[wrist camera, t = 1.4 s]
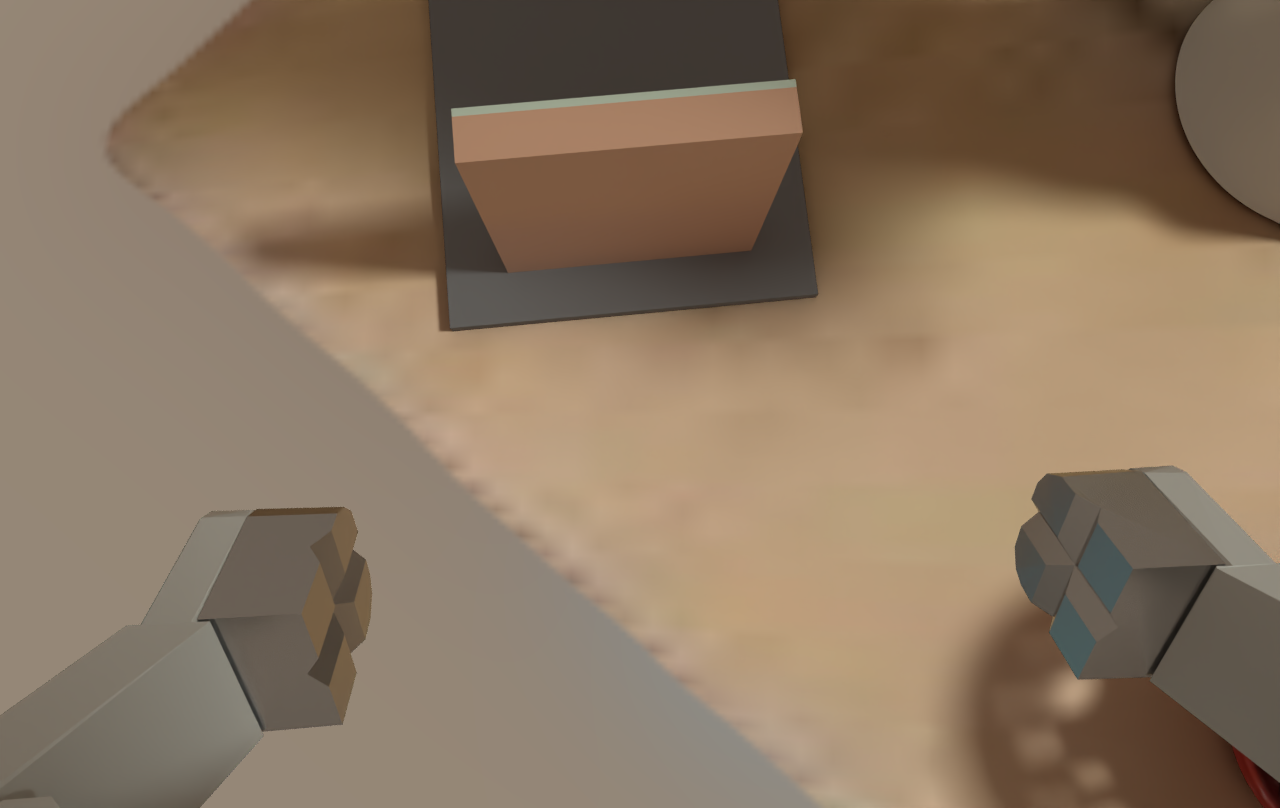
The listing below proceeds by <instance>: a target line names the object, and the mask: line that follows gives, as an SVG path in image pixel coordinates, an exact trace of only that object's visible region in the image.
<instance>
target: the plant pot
mask: <svg viewBox="0 0 1280 808" xmlns="http://www.w3.org/2000/svg"><path fill="white" fill-rule="evenodd" d="M1232 748H1233V751H1234V755H1235V757H1236V760H1237V762H1238V765H1239V767H1240V769H1241V772H1242V774H1243V776H1244V778H1245V780H1246V782H1247V783H1248V785H1249V786H1250V788H1251V790H1252V791H1253V793H1254V795H1255V796H1256V798H1257V799H1258V800H1259V802H1260V803H1261V805H1262V806H1263V807H1264V808H1280V782H1278V781H1277V780H1276V779H1275V778H1273V777H1272V776H1271V775H1269V774H1268V773H1267V772H1266V771H1264V770H1263V769H1262V768H1260V767H1259V766H1258V765H1257V764H1255V763H1254V762H1253V761H1252V760H1250V759H1249V758H1248V757H1246V756H1245V755H1244V754H1243V753H1241V752H1240V751H1239V750H1237V749H1236V748H1235V747H1234V746H1232Z"/></svg>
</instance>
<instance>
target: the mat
mask: <svg viewBox="0 0 1280 808" xmlns="http://www.w3.org/2000/svg"><path fill="white" fill-rule="evenodd" d="M429 15H430V30H431V46H432V61H433V76H434V91H435V107H436V122H437V137H438V153H439V168H440V183H441V198H442V214H443V229H444V244H445V259H446V275H447V290H448V305H449V321H450V329H451V330H452V331H460V330H471V329H482V328H492V327H503V326H514V325H524V324H535V323H546V322H557V321H567V320H578V319H589V318H599V317H610V316H621V315H632V314H642V313H653V312H664V311H674V310H685V309H696V308H707V307H717V306H728V305H739V304H749V303H760V302H771V301H781V300H792V299H803V298H814V297H816V296H817V295H818V290H817V283H816V275H815V268H814V261H813V253H812V246H811V239H810V231H809V224H808V217H807V209H806V202H805V195H804V187H803V180H802V173H801V165H800V158H799V151H798V145H797V147H796V150H795V152H794V154H793V157H792V159H791V161H790V163H789V166H788V168H787V170H786V173H785V175H784V177H783V179H782V182H781V184H780V186H779V188H778V191H777V193H776V195H775V198H774V200H773V202H772V204H771V207H770V209H769V211H768V214H767V216H766V218H765V220H764V223H763V225H762V227H761V230H760V232H759V234H758V236H757V239H756V241H755V243H754V245H753V248H752V250H751V251H742V252H731V253H720V254H709V255H699V256H688V257H677V258H666V259H655V260H644V261H633V262H622V263H611V264H600V265H589V266H578V267H568V268H557V269H546V270H535V271H524V272H513V273H508V272H507V270H506V268H505V265H504V263H503V261H502V259H501V257H500V255H499V253H498V251H497V249H496V247H495V245H494V243H493V241H492V239H491V237H490V235H489V232H488V230H487V228H486V226H485V224H484V222H483V220H482V218H481V216H480V214H479V212H478V210H477V208H476V206H475V204H474V202H473V199H472V197H471V195H470V193H469V191H468V189H467V187H466V185H465V183H464V181H463V179H462V177H461V175H460V173H459V171H458V169H457V166H456V164H455V157H454V143H453V128H452V114H451V109H454V108H465V107H477V106H488V105H500V104H512V103H523V102H535V101H547V100H558V99H570V98H581V97H593V96H605V95H616V94H628V93H639V92H651V91H663V90H674V89H686V88H698V87H709V86H721V85H732V84H744V83H756V82H767V81H779V80H789V78H788V70H787V63H786V56H785V48H784V41H783V34H782V26H781V19H780V12H779V5H778V0H429Z"/></svg>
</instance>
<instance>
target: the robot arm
mask: <svg viewBox="0 0 1280 808" xmlns="http://www.w3.org/2000/svg"><path fill="white" fill-rule="evenodd" d="M1175 93H1176V102H1177V108H1178V112H1179V116H1180V120H1181V123H1182V126H1183V129H1184V131H1185V134H1186V136H1187V139H1188V141H1189V143H1190V145H1191V147H1192V149H1193V150H1194V152H1195V154H1196V155H1197V157H1198V158H1199V160H1200V161H1201V163H1202V164H1203V166H1204V167H1205V168H1206V170H1207V171H1208V172H1209V173H1210V174H1211V176H1212V177H1213V178H1214V179H1215V180H1216V181H1217V182H1218V183H1219V184H1220V185H1221V186H1222V187H1223V188H1224V189H1225V190H1226V191H1227V192H1229V193H1230V194H1231V195H1232V196H1233V197H1235V198H1236V199H1237V200H1239V201H1240V202H1241V203H1243V204H1244V205H1246V206H1247V207H1249V208H1250V209H1252V210H1254V211H1255V212H1257V213H1259V214H1261V215H1263V216H1265V217H1267V218H1269V219H1271V220H1273V221H1275V222H1277V223H1279V224H1280V0H1213V1H1212V2H1211V3H1210V4H1209V5H1207V6H1206V7H1205V9H1204V10H1203V11H1202V12H1201V13H1200V14H1199V16H1198V17H1197V18H1196V19H1195V21H1194V22H1193V24H1192V25H1191V27H1190V29H1189V30H1188V32H1187V34H1186V36H1185V39H1184V41H1183V44H1182V46H1181V49H1180V53H1179V56H1178V61H1177V66H1176V76H1175ZM1032 501H1033V503H1034V504H1035V506H1036V508H1037V510H1038V513H1037V514H1036V515H1034V516H1033V517H1032V518H1031V519H1030V520H1028V521H1027V522H1026V523H1025V524H1023V525H1022V526H1021V529H1020V532H1019V535H1018V538H1017V541H1016V545H1015V561H1016V571H1017V574H1018V577H1019V580H1020V583H1021V586H1022V587H1023V589H1024V591H1025V593H1026V594H1027V596H1028V598H1029V600H1030V601H1031V603H1033V604H1034V605H1036V606H1037V607H1039V608H1040V609H1042V610H1043V611H1045V612H1046V613H1048V614H1050V615H1051V616H1053V617H1052V622H1051V626H1050V631H1049V633H1050V635H1051V636H1052V638H1053V640H1054V641H1055V643H1056V645H1057V646H1058V648H1059V650H1060V651H1061V653H1062V654H1063V656H1064V658H1065V659H1066V661H1067V663H1068V664H1069V666H1070V668H1071V669H1072V671H1073V673H1074V674H1075V676H1076V677H1077V679H1078V680H1079V679H1109V678H1139V677H1151V679H1150V681H1151V682H1152V683H1153V684H1154V685H1156V686H1157V687H1158V688H1160V689H1161V690H1162V691H1163V692H1165V693H1166V694H1167V695H1169V696H1170V697H1171V698H1172V699H1174V700H1175V701H1176V702H1177V703H1179V704H1180V705H1181V706H1183V707H1184V708H1185V709H1186V710H1188V711H1189V712H1190V713H1191V714H1193V715H1194V716H1195V717H1197V718H1198V719H1199V720H1200V721H1202V722H1203V723H1204V724H1206V725H1207V726H1208V727H1209V728H1211V729H1212V730H1213V731H1214V732H1216V733H1217V734H1218V735H1220V736H1221V737H1222V738H1223V739H1225V740H1226V741H1227V742H1229V743H1230V744H1231V745H1232V746H1234V747H1235V748H1236V749H1237V750H1239V751H1240V752H1241V753H1243V754H1244V755H1245V756H1246V757H1248V758H1249V759H1250V760H1252V761H1253V762H1254V763H1255V764H1257V765H1258V766H1259V767H1260V768H1262V769H1263V770H1264V771H1266V772H1267V773H1268V774H1269V775H1271V776H1272V777H1273V778H1275V779H1276V780H1277V781H1278V782H1280V563H1275V562H1274V561H1273V560H1272V559H1271V558H1270V557H1269V556H1268V555H1267V554H1266V553H1265V552H1264V551H1263V550H1262V549H1261V548H1260V547H1259V546H1258V545H1257V544H1256V543H1255V542H1254V541H1253V540H1252V539H1251V537H1250V536H1249V535H1248V534H1247V533H1246V532H1245V531H1244V530H1243V529H1242V528H1241V527H1240V526H1239V525H1238V524H1237V523H1236V522H1235V521H1234V520H1233V519H1232V518H1231V517H1230V516H1229V515H1228V514H1227V513H1226V512H1225V511H1224V510H1223V509H1222V508H1221V507H1220V506H1219V505H1218V504H1217V503H1216V502H1215V501H1214V500H1213V499H1212V498H1211V497H1210V496H1209V495H1208V494H1207V493H1206V492H1205V490H1204V489H1203V488H1202V487H1201V486H1200V485H1199V484H1198V483H1197V482H1196V481H1195V480H1194V479H1193V478H1192V477H1191V476H1190V475H1189V474H1188V473H1187V472H1185V471H1183V470H1181V469H1179V468H1177V467H1175V466H1159V467H1144V468H1131V469H1128V470H1124V469H1121V470H1103V471H1085V472H1067V473H1048V474H1046V475H1045V476H1044V477H1043V478H1042V479H1041V480H1040V481H1039V482H1038V483H1037V486H1036V488H1035V491H1034V494H1033V496H1032ZM357 534H358V530H357V527H356V524H355V521H354V518H353V515H352V512H351V511H350V510H349V509H347V508H345V507H322V508H321V507H320V508H281V509H256V510H235V511H211V512H209V513H208V514H207V515H205V516H204V517H202V518H201V519H200V520H199V522H198V523H197V525H196V527H195V529H194V530H193V532H192V534H191V536H190V538H189V539H188V541H187V543H186V545H185V546H184V548H183V550H182V552H181V554H180V555H179V557H178V560H177V561H176V563H175V565H174V566H173V568H172V570H171V572H170V573H169V575H168V577H167V579H166V580H165V582H164V584H163V586H162V588H161V590H160V591H159V593H158V595H157V597H156V598H155V600H154V602H153V604H152V605H151V607H150V609H149V611H148V613H147V614H146V616H145V618H144V620H143V622H142V623H141V625H132V626H125V627H124V628H122V629H121V630H120V631H118V632H117V633H115V634H114V635H113V636H111V637H110V638H108V639H107V640H105V641H104V642H103V643H101V644H100V645H98V646H97V647H96V648H94V649H93V650H91V651H90V652H89V653H87V654H86V655H84V656H83V657H82V658H80V659H79V660H77V661H76V662H75V663H73V664H72V665H70V666H69V667H68V668H66V669H65V670H63V671H62V672H60V673H59V674H58V675H56V676H55V677H53V678H52V679H51V680H49V681H48V682H46V683H45V684H44V685H42V686H41V687H40V688H38V689H37V690H36V691H34V692H33V693H31V694H30V695H28V696H27V697H26V698H24V699H23V700H21V701H20V702H18V703H17V704H16V705H14V706H13V707H11V708H10V709H9V710H7V711H6V712H4V713H3V714H2V715H0V808H200V807H201V806H202V805H203V804H204V803H205V801H206V800H207V799H208V798H209V797H210V796H211V795H212V794H213V792H214V791H215V790H216V789H217V788H218V787H219V786H220V785H221V784H222V782H223V781H224V780H225V779H226V778H227V777H228V775H230V773H231V772H232V771H233V770H234V769H235V768H236V767H237V765H238V764H239V763H240V762H241V761H242V760H243V759H244V758H245V757H246V755H247V754H248V753H249V752H250V751H251V750H252V749H253V748H254V746H255V745H256V744H257V743H258V742H259V741H260V739H261V738H262V737H263V731H274V730H286V729H297V728H309V727H319V726H331V725H342V724H343V721H344V717H345V714H346V710H347V706H348V702H349V699H350V695H351V692H352V688H353V684H354V680H355V677H356V669H355V666H354V663H353V660H352V657H351V652H353V650H355V649H356V648H357V647H358V646H359V645H360V644H361V643H362V642H363V641H364V640H365V638H366V634H367V630H368V626H369V622H370V617H371V602H372V588H371V579H370V573H369V569H368V565H367V562H366V559H364V558H363V557H362V556H360V555H359V554H358V553H357V552H355V551H354V550H353V547H354V544H355V540H356V537H357Z"/></svg>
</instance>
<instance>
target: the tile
mask: <svg viewBox="0 0 1280 808" xmlns="http://www.w3.org/2000/svg"><path fill="white" fill-rule="evenodd" d="M451 114H452V128H453V143H454V157H455V164H456V166H457V169H458V171H459V173H460V175H461V177H462V179H463V181H464V183H465V185H466V187H467V189H468V191H469V193H470V195H471V197H472V199H473V202H474V204H475V206H476V208H477V210H478V212H479V214H480V216H481V218H482V220H483V222H484V224H485V226H486V228H487V230H488V232H489V235H490V237H491V239H492V241H493V243H494V245H495V247H496V249H497V251H498V253H499V255H500V257H501V259H502V261H503V263H504V265H505V268H506V270H507V272H508V273H513V272H524V271H535V270H546V269H557V268H568V267H578V266H589V265H600V264H611V263H622V262H633V261H644V260H655V259H666V258H677V257H688V256H699V255H709V254H720V253H731V252H742V251H751V250H752V248H753V245H754V243H755V241H756V239H757V236H758V234H759V232H760V230H761V227H762V225H763V223H764V220H765V218H766V216H767V214H768V211H769V209H770V207H771V204H772V202H773V200H774V198H775V195H776V193H777V191H778V188H779V186H780V184H781V182H782V179H783V177H784V175H785V173H786V170H787V168H788V166H789V163H790V161H791V159H792V157H793V154H794V152H795V150H796V147H797V145H798V143H799V141H800V138H801V136H802V134H803V129H802V122H801V114H800V107H799V100H798V93H797V85H796V79H790V80H779V81H767V82H756V83H744V84H732V85H721V86H709V87H698V88H686V89H674V90H663V91H651V92H639V93H628V94H616V95H605V96H593V97H581V98H570V99H558V100H547V101H535V102H523V103H512V104H500V105H488V106H477V107H465V108H454V109H451Z"/></svg>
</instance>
